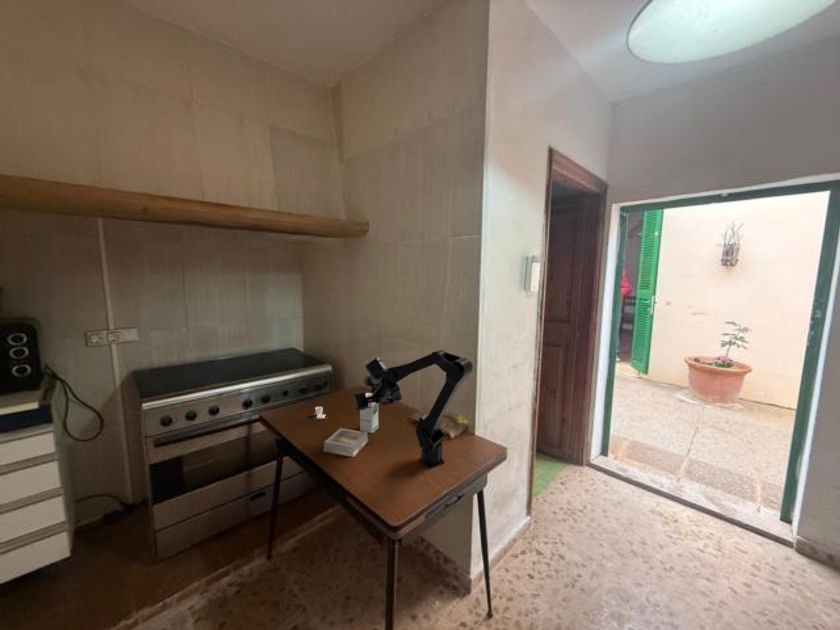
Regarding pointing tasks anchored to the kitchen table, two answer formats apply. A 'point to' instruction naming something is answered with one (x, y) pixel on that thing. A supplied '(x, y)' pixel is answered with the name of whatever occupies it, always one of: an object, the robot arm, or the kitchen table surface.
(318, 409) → the white ring and cylinder
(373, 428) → the syrup box
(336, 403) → the kitchen table surface
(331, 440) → the white square tray
